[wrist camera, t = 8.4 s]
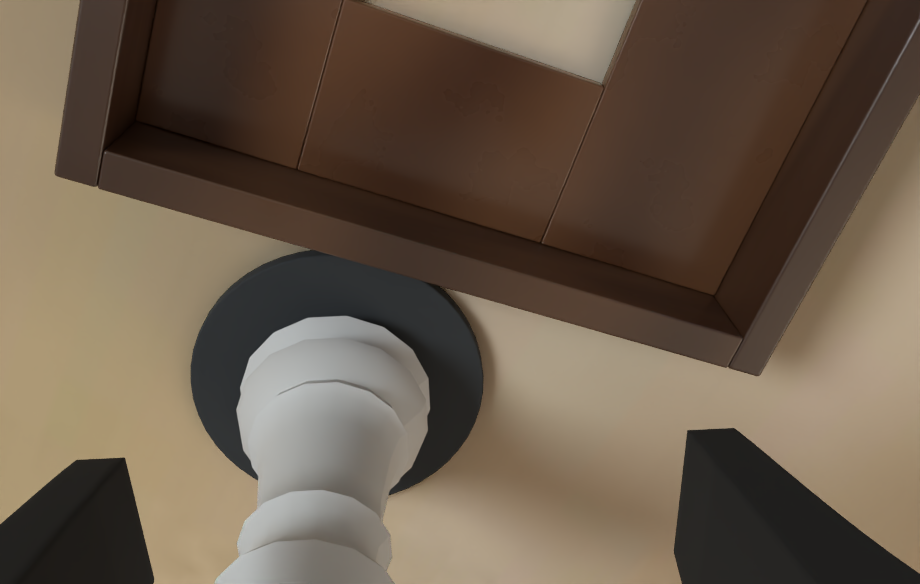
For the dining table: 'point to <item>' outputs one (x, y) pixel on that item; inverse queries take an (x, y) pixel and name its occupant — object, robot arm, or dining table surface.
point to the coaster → (326, 295)
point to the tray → (513, 149)
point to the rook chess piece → (326, 450)
